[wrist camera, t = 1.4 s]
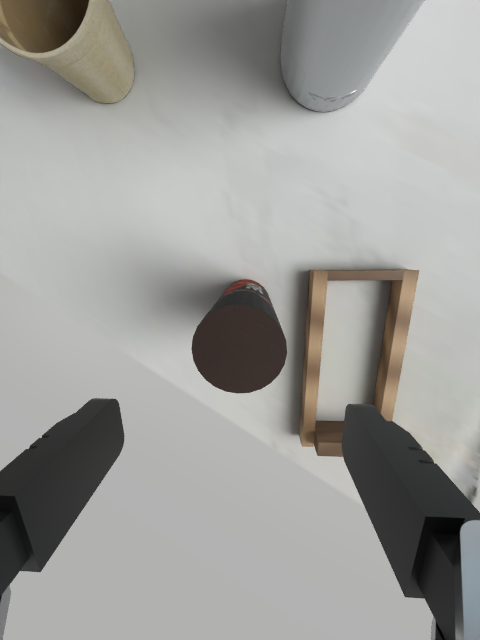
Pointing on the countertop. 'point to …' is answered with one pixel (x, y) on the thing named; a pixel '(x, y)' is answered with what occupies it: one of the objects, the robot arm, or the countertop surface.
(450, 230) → the countertop surface
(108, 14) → the flower pot
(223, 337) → the deodorant
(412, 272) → the wooden frame
